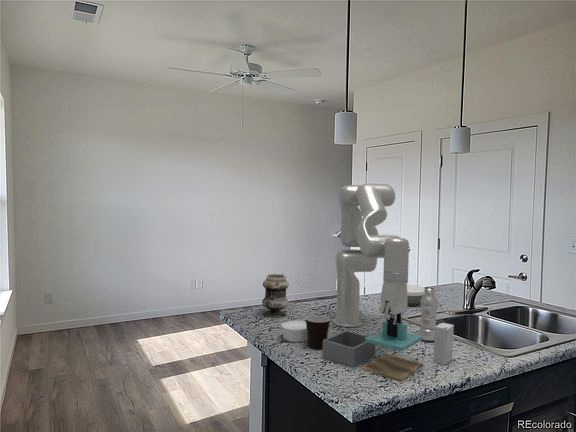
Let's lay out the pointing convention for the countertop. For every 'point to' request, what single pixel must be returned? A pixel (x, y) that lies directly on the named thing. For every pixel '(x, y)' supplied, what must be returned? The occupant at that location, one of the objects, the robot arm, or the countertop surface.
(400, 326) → the lid
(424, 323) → the plastic bottle
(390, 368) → the wooden board
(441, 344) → the skincare box
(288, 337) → the ramekin
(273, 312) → the apothecary jar
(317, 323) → the coffee mug
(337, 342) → the tub
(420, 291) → the bowl
